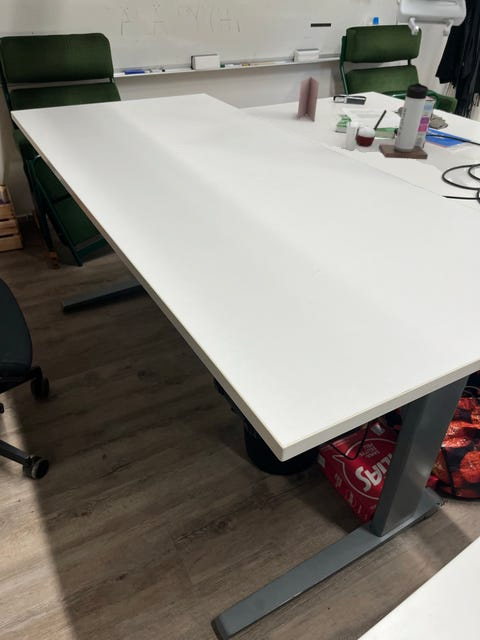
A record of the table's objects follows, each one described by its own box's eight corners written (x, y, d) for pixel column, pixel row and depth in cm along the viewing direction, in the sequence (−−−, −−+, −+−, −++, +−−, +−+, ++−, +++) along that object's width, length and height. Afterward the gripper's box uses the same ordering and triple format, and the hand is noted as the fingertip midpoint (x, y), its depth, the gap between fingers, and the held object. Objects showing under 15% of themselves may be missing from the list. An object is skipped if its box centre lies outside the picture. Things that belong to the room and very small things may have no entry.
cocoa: (350, 146, 169) (356, 110, 162) (353, 141, 174) (360, 106, 167) (377, 150, 167) (384, 113, 159) (380, 145, 171) (387, 109, 164)
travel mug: (412, 147, 165) (428, 84, 153) (412, 153, 160) (429, 88, 148) (394, 145, 166) (408, 82, 154) (393, 151, 161) (408, 86, 149)
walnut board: (417, 150, 168) (419, 145, 167) (426, 159, 160) (427, 154, 159) (378, 148, 168) (379, 144, 167) (385, 157, 160) (386, 153, 159)
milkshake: (338, 149, 165) (343, 119, 159) (348, 146, 168) (353, 116, 162) (349, 153, 163) (355, 122, 157) (358, 150, 166) (364, 119, 160)
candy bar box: (424, 149, 169) (437, 100, 159) (411, 150, 168) (423, 100, 158) (409, 139, 178) (421, 92, 168) (397, 140, 177) (408, 92, 167)
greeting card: (304, 115, 201) (308, 76, 192) (321, 118, 199) (326, 78, 190) (294, 122, 193) (298, 81, 184) (312, 125, 190) (317, 84, 181)
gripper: (400, -17, 144) (399, 24, 142) (468, -14, 144) (468, 27, 142) (393, 0, 150) (393, 40, 148) (458, 3, 150) (459, 43, 148)
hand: (430, 34), depth 145 cm, fingers open, 8 cm apart
